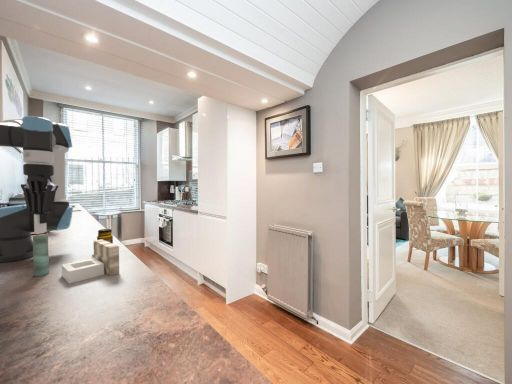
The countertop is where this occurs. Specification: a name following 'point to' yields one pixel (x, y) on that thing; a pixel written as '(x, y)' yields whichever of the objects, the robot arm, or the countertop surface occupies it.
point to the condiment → (105, 236)
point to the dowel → (40, 255)
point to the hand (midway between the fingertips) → (40, 232)
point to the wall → (107, 256)
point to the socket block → (82, 270)
